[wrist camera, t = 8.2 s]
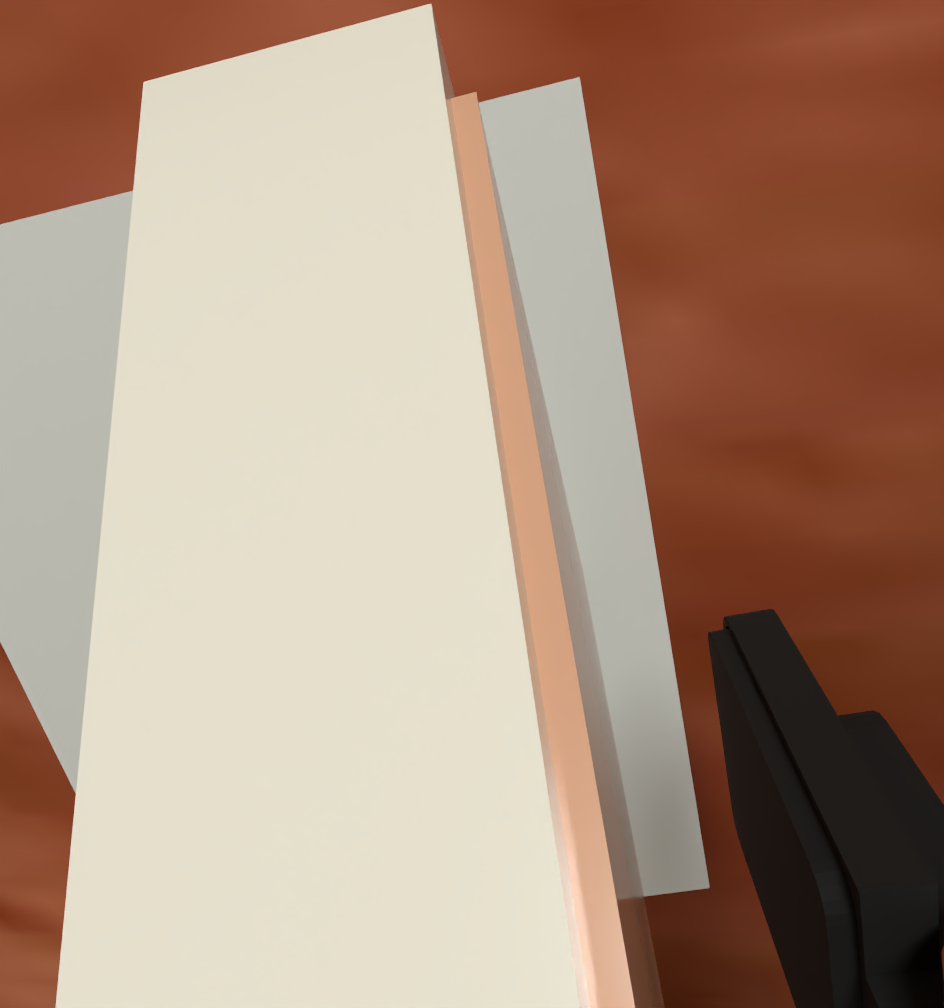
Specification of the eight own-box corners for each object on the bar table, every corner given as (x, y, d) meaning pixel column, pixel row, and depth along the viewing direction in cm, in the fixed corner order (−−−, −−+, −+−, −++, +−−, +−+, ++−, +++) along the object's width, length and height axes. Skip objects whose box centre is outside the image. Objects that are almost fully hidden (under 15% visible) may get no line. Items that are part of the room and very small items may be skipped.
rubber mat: (577, 81, 12) (579, 77, 11) (703, 864, 17) (709, 888, 17) (-155, 267, 14) (-183, 271, 13) (168, 936, 19) (157, 959, 18)
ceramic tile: (456, -2, 5) (856, 2331, 2) (580, 560, 14) (688, 1134, 11) (143, 81, 6) (-67, 2255, 2) (457, 582, 14) (522, 1150, 11)
